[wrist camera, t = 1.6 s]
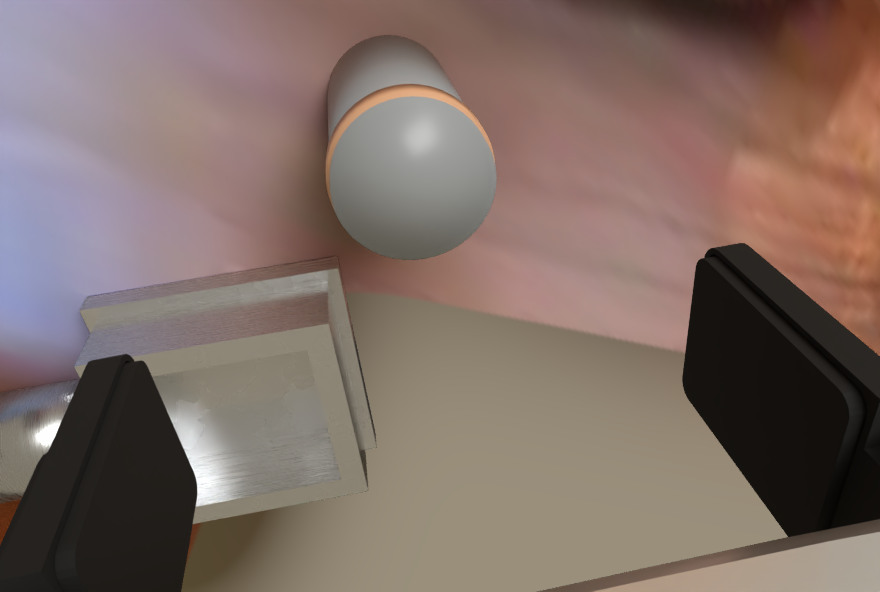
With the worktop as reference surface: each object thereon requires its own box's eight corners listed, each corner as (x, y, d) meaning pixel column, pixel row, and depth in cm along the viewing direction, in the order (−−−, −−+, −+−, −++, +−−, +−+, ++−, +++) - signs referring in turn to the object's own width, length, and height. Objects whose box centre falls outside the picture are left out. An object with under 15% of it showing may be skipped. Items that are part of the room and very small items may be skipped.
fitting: (337, 255, 27) (339, 316, 24) (375, 432, 33) (382, 503, 29) (-70, 322, 26) (-133, 395, 23) (39, 493, 32) (3, 575, 28)
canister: (445, 23, 23) (495, 86, 17) (456, 149, 26) (504, 248, 19) (312, 41, 23) (308, 114, 16) (337, 168, 26) (343, 275, 19)
